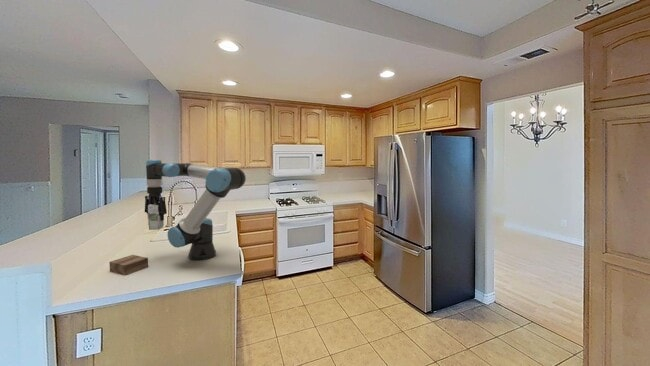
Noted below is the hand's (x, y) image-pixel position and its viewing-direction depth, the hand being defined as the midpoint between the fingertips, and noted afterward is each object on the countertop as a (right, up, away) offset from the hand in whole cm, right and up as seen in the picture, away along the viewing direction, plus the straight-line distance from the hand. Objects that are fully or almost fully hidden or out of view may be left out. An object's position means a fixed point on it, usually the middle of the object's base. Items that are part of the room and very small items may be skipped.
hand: (155, 225), depth 161 cm
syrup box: (0, -2, 0) cm, 2 cm away
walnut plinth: (-5, -21, -15) cm, 26 cm away
